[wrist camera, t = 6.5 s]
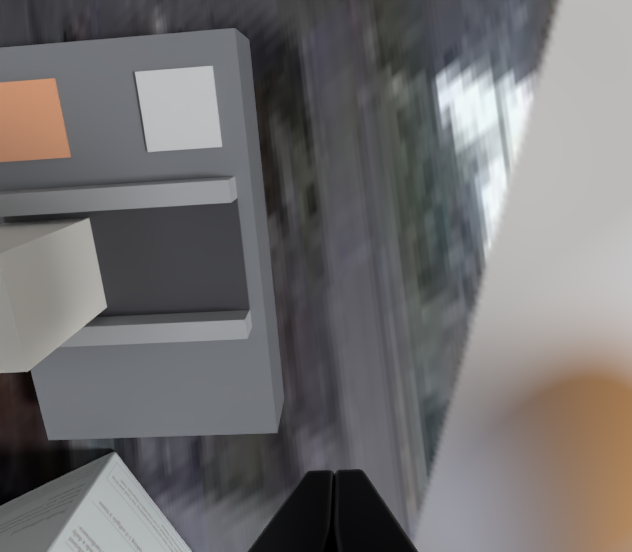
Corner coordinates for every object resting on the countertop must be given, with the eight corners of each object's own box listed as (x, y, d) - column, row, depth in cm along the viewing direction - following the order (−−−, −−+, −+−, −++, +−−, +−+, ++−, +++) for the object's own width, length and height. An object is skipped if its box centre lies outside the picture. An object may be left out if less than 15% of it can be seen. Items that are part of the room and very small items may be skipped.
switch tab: (107, 307, 18) (27, 371, 14) (25, 311, 18) (-81, 376, 14) (88, 217, 17) (-3, 254, 13) (3, 223, 17) (-118, 261, 13)
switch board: (284, 398, 22) (273, 449, 18) (79, 405, 22) (33, 456, 19) (249, 39, 18) (227, 22, 14) (-1, 60, 18) (-77, 47, 15)
